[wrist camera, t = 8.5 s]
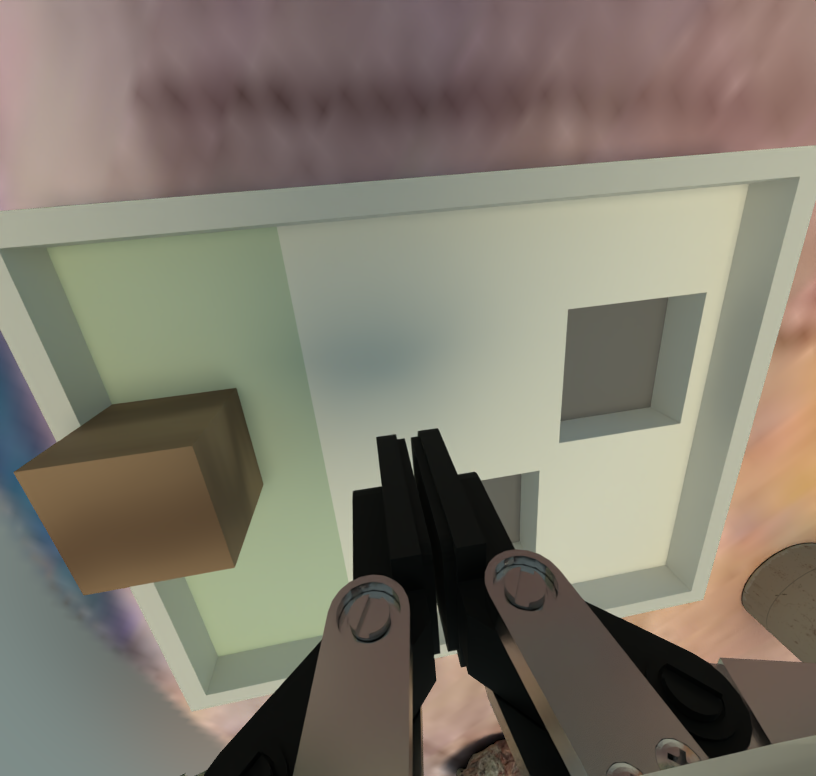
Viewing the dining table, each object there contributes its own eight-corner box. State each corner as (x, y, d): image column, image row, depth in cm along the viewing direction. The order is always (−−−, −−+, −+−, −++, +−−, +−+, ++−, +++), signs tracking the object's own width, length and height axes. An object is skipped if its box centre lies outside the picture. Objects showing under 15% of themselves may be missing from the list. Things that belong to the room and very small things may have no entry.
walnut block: (111, 404, 16) (13, 472, 11) (236, 387, 16) (192, 445, 12) (153, 502, 18) (83, 595, 13) (263, 484, 18) (234, 567, 13)
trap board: (53, 222, 15) (-57, 215, 11) (721, 166, 18) (831, 144, 14) (218, 630, 24) (191, 711, 20) (649, 545, 27) (703, 599, 23)
